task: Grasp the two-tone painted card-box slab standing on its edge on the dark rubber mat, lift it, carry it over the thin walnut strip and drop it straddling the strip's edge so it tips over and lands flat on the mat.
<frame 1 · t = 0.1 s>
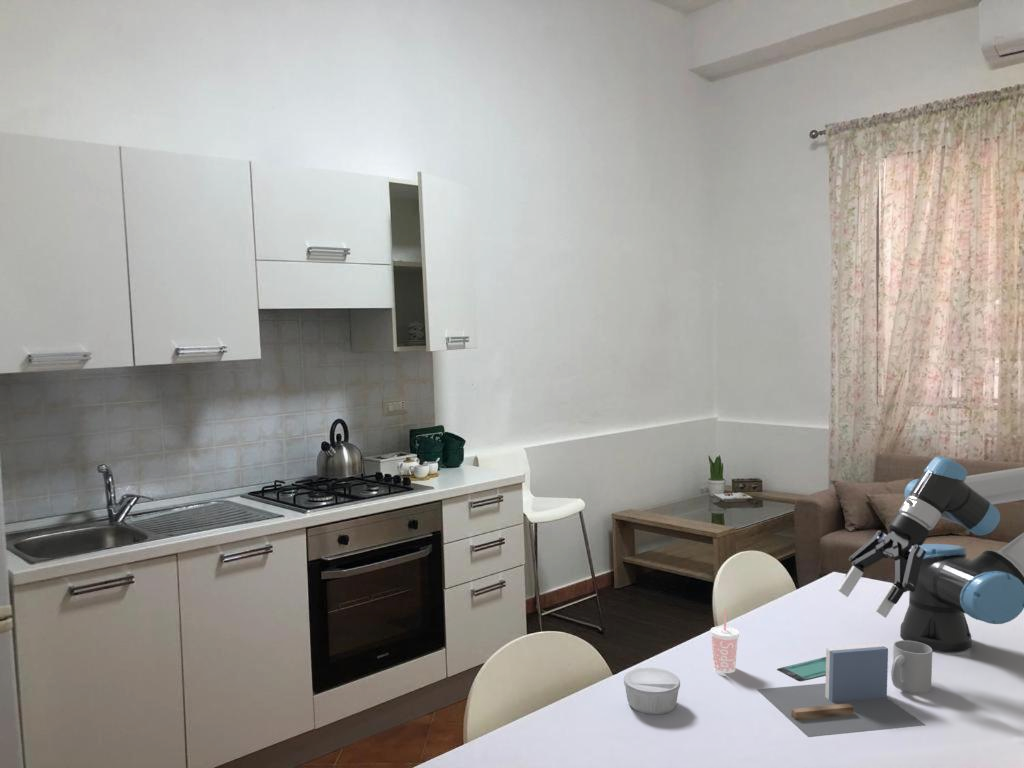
hand: (860, 603, 177), 15 cm above the table, tool tilted 35°, fingers open, 13 cm apart
mat: (837, 709, 161), on the table
blue-grey flat block: (856, 696, 165), point 1 cm above the table, touching mat
cup: (907, 691, 170), on the table
beverage cup: (724, 672, 179), on the table
ramekin: (651, 705, 164), on the table
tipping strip: (822, 718, 157), resting on mat
smartphone: (813, 674, 179), on the table
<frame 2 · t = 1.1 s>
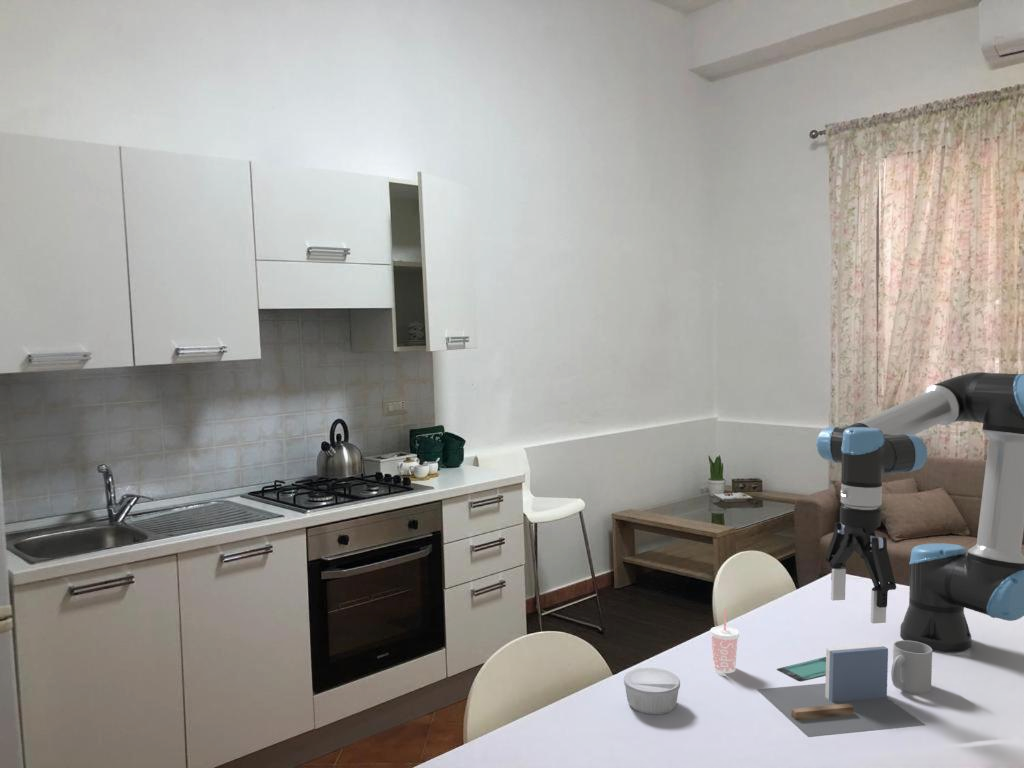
hand: (857, 610, 164), 18 cm above the table, tool pointing down, fingers open, 13 cm apart
nothing on the table moved.
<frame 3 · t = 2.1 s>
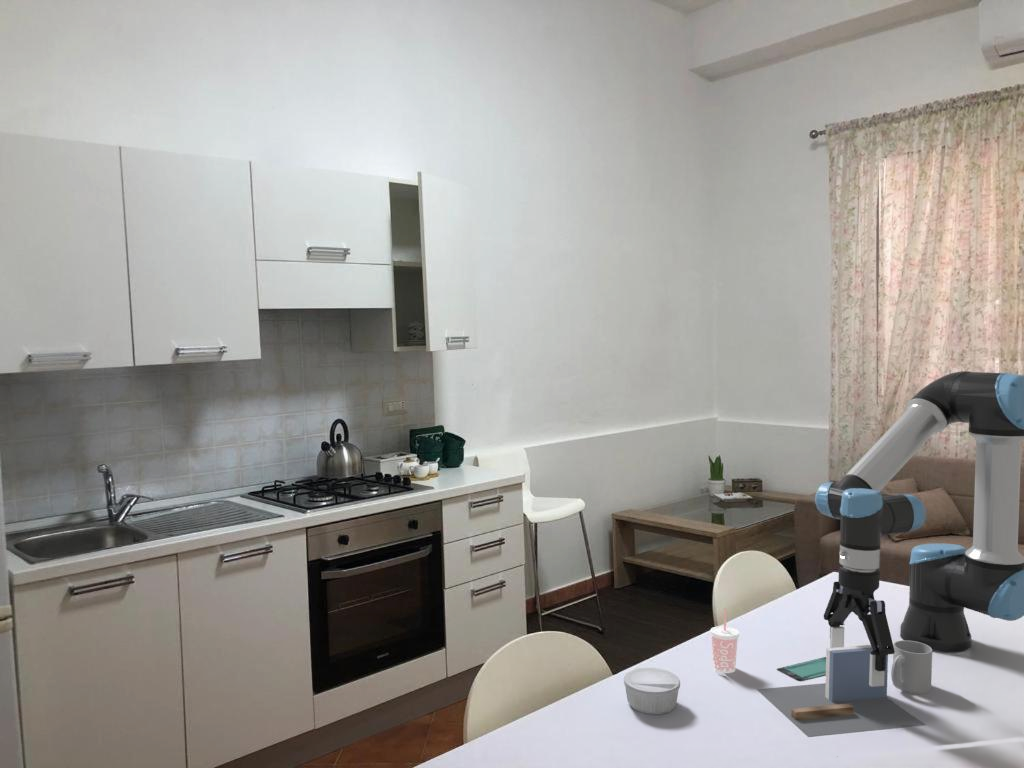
hand: (855, 671, 165), 6 cm above the table, tool pointing down, fingers open, 13 cm apart
nothing on the table moved.
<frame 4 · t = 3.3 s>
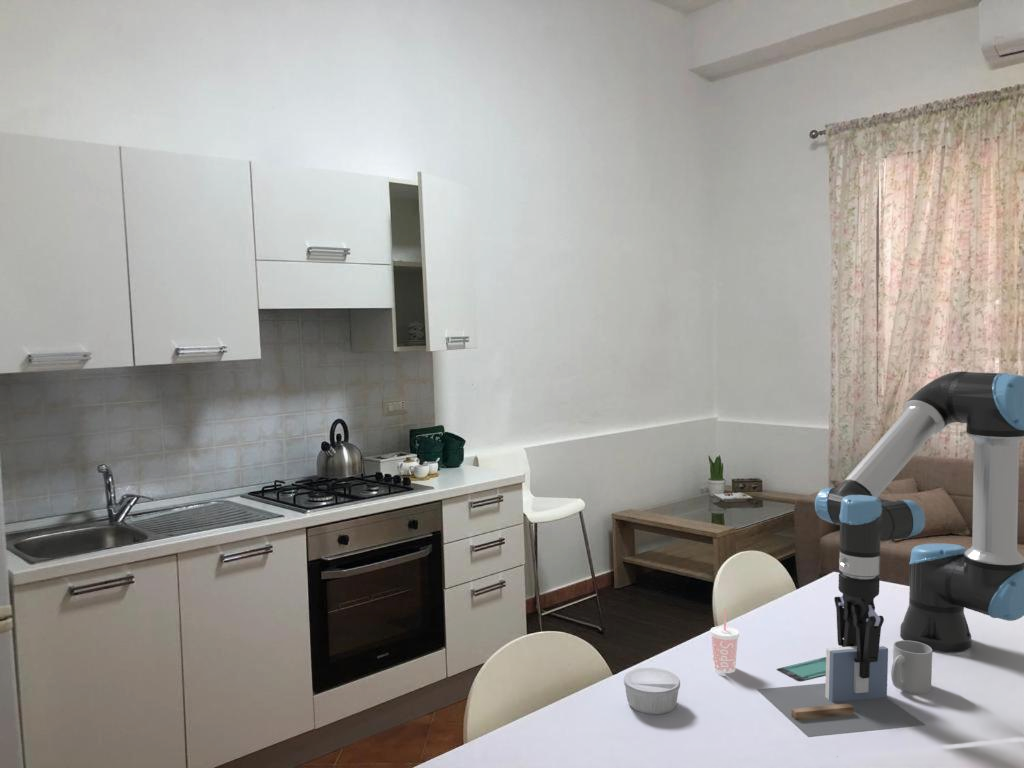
hand: (856, 688, 165), 2 cm above the table, tool pointing down, fingers closed on blue-grey flat block, 2 cm apart
blue-grey flat block: (856, 696, 165), point 1 cm above the table, touching gripper
everything else where it was.
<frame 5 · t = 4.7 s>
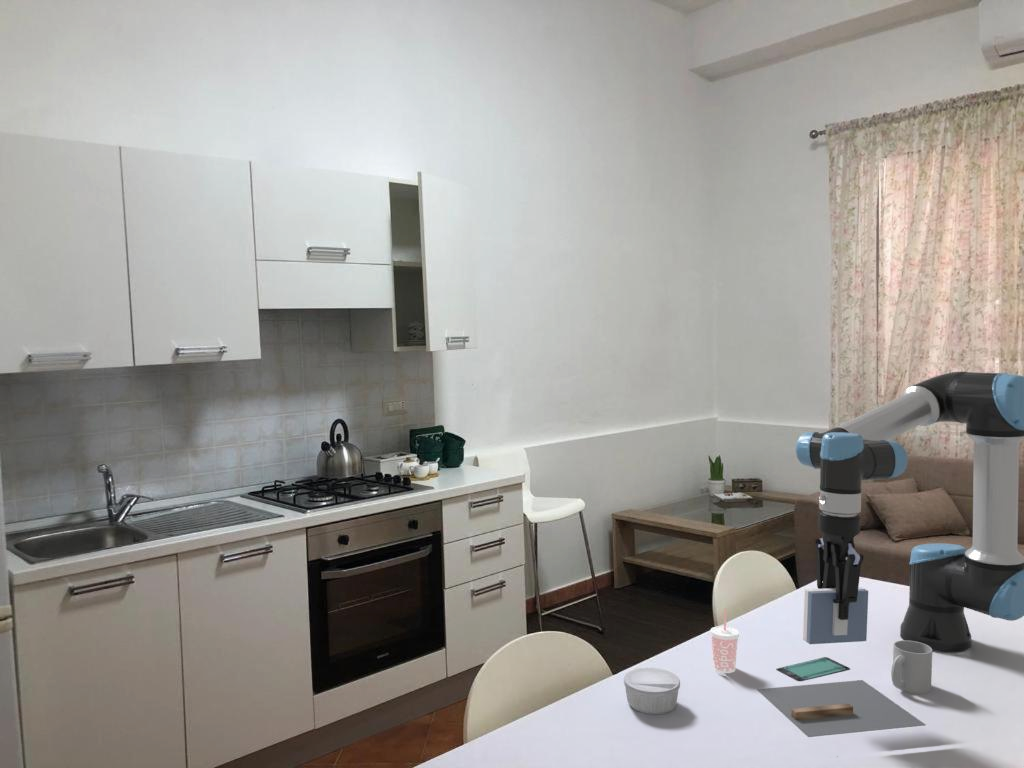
hand: (835, 631, 160), 16 cm above the table, tool pointing down, fingers closed on blue-grey flat block, 2 cm apart
blue-grey flat block: (834, 640, 161), point 14 cm above the table, touching gripper
everything else where it was.
when the fingers open (8 cm above the table, at t = 6.3 s): blue-grey flat block drops 4 cm, resting on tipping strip.
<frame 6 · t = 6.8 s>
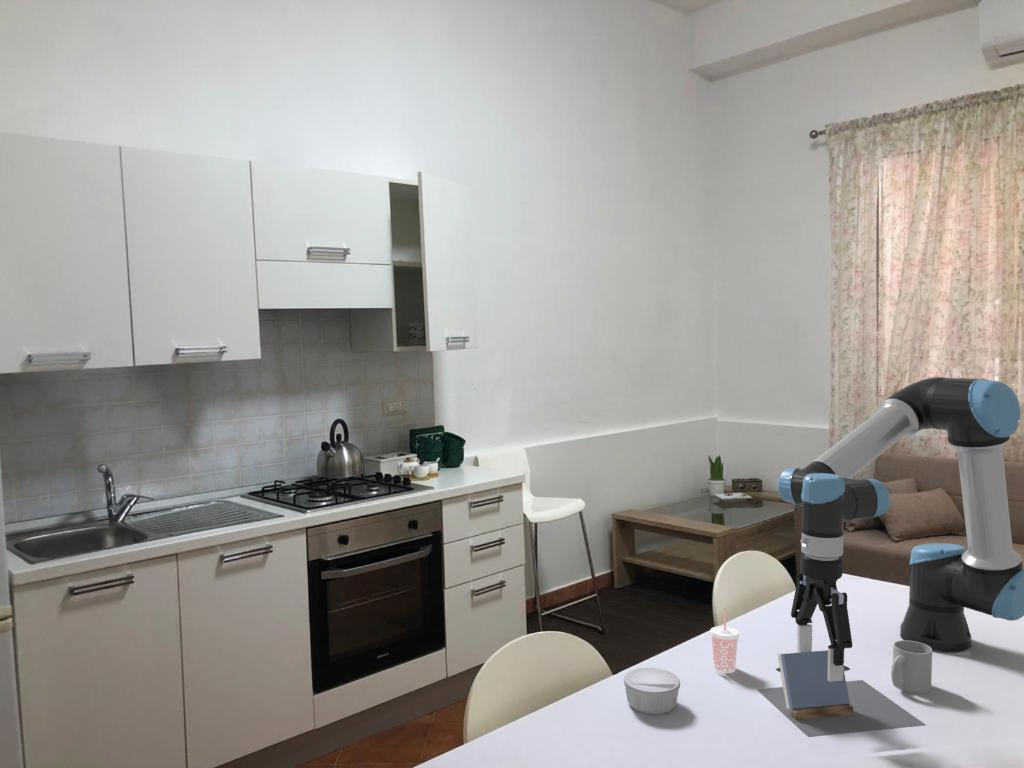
hand: (819, 668, 158), 9 cm above the table, tool pointing down, fingers open, 10 cm apart
blue-grey flat block: (818, 706, 159), point 2 cm above the table, tilted 23°, touching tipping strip
everything else where it was.
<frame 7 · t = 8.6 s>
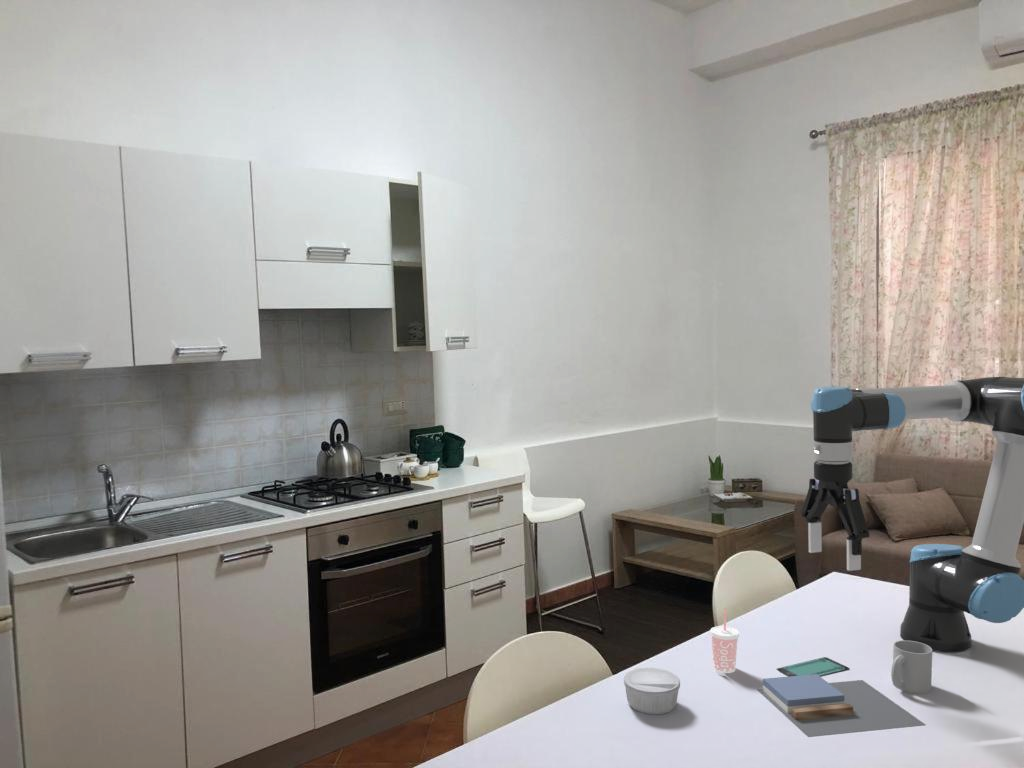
hand: (833, 560, 173), 26 cm above the table, tool pointing down, fingers open, 13 cm apart
blue-grey flat block: (816, 704, 160), point 2 cm above the table, tilted 90°, touching mat
everything else where it was.
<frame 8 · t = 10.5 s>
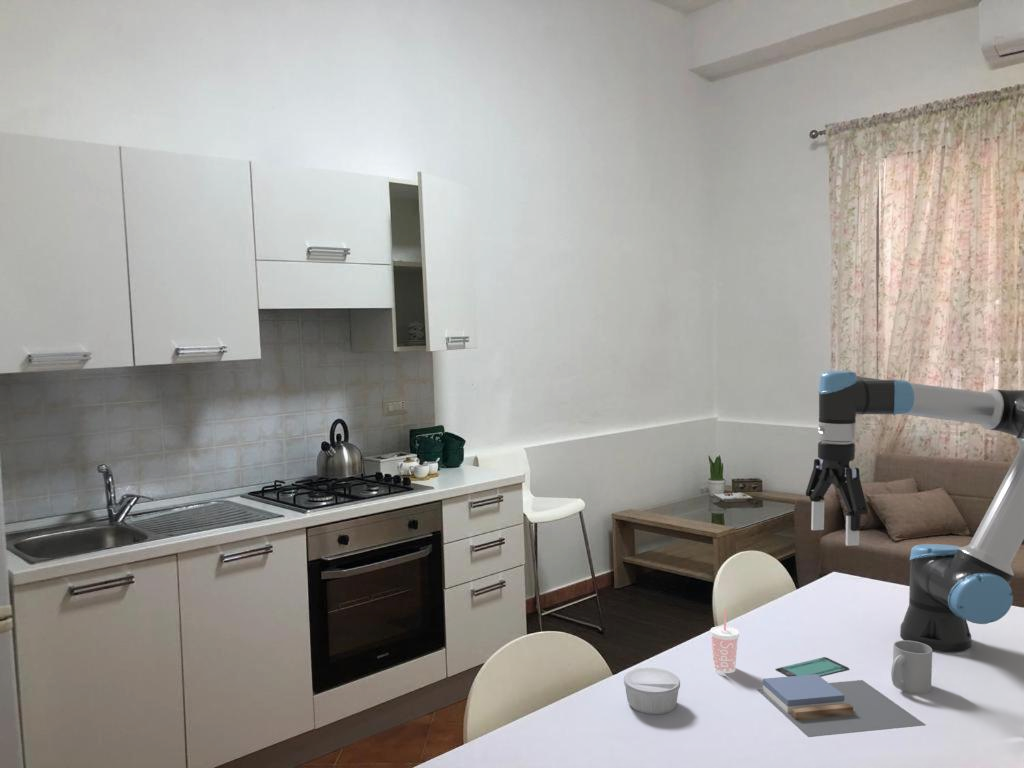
hand: (834, 537, 181), 29 cm above the table, tool pointing down, fingers open, 13 cm apart
nothing on the table moved.
at the end: blue-grey flat block tilted 90°; blue-grey flat block inside the target area (4.5 cm from its centre), point 1.8 cm above the table; the gripper is holding nothing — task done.
